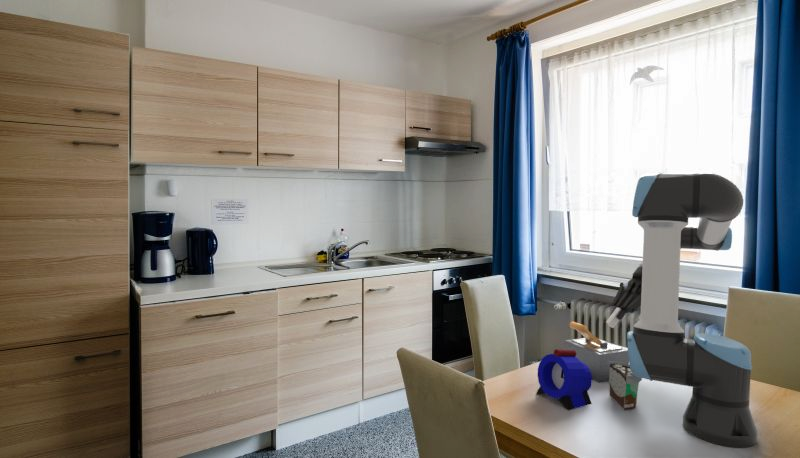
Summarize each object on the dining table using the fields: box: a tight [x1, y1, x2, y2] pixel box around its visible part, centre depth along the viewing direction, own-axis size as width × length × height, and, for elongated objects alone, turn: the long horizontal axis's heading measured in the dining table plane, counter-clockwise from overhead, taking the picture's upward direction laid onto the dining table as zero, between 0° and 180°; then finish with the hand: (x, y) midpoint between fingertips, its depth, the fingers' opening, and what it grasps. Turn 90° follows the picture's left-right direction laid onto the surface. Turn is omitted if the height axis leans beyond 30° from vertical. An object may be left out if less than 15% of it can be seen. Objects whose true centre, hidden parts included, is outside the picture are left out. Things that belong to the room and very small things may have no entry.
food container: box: [608, 361, 643, 411], centre depth 133 cm, size 12×6×10 cm, turn 179°
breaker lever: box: [569, 321, 601, 345], centre depth 155 cm, size 2×6×10 cm
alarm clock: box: [535, 348, 593, 411], centre depth 136 cm, size 12×12×15 cm
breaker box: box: [564, 337, 630, 384], centre depth 157 cm, size 12×16×11 cm
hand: (609, 324), depth 159 cm, fingers closed
